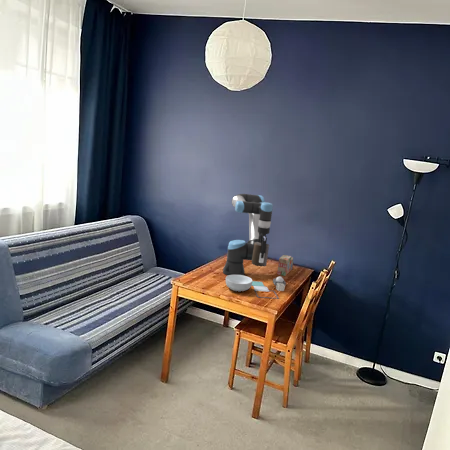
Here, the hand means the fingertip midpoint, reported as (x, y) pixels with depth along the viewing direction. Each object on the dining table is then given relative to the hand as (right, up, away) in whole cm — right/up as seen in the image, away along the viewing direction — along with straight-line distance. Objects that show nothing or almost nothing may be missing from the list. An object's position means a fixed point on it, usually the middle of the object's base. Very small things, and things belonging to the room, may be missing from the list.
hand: (259, 260), depth 270 cm
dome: (+14, -16, +8) cm, 23 cm away
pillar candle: (0, -3, +1) cm, 3 cm away
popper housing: (+14, -17, +8) cm, 23 cm away
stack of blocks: (+22, -12, +38) cm, 45 cm away
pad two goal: (-2, -16, +3) cm, 16 cm away
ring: (+3, -20, -14) cm, 24 cm away
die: (+13, -19, -3) cm, 23 cm away
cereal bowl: (-15, -18, -11) cm, 25 cm away
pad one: (0, -18, -6) cm, 19 cm away
